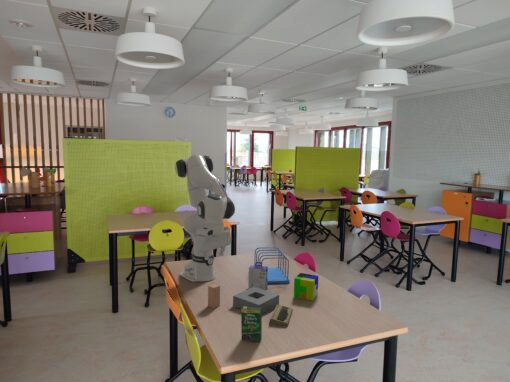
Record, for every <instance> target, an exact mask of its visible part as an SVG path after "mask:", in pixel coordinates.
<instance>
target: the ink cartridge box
mask: <svg viewBox="0 0 510 382" xmlns="http://www.w3.org/2000/svg"><path fill="white" fill-rule="evenodd" d="M258 263H260V265H258ZM268 268H269V266H267V265H266V266H265V265H263V262H262V261H260V262H258V261H257V262H256V261H255V266H254V265H250V266H249V268H248V289H250V288H252V287H256V288H259V289H263V290H266V291H267V289H268V284H267V279H268ZM248 289H247V290H248Z"/></svg>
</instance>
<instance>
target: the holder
mask: <svg viewBox="0 0 510 382" xmlns="http://www.w3.org/2000/svg"><path fill="white" fill-rule="evenodd" d="M276 305H280V294H278V293H275V292H272V291H268V290H267V289H266V290H263V289H259V288H256V287H252V288H250V289H245V290H244V291H241V292H239V293H236V294H234V295H233V296H232V307H235V308H238V309H240V310H241V309H242V307H243V306H245V307H254V308H262V315H263V314H264V313H266V312H268V311H270V310H272V309H275V308H276Z"/></svg>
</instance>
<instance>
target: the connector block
mask: <svg viewBox="0 0 510 382" xmlns="http://www.w3.org/2000/svg"><path fill="white" fill-rule="evenodd" d="M207 306H208V307H210V308H212V309H216V308H218V307H220V306H221V286H220V285H219V284H215V283H213V284H210V285H208V286H207Z"/></svg>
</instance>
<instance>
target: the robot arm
mask: <svg viewBox="0 0 510 382" xmlns="http://www.w3.org/2000/svg"><path fill="white" fill-rule="evenodd" d="M214 165H215V164H214V160H213V159H212V156H210V155H200V154H192V155H190V156H189V157H187V158H181V159H178V160H177V161H176V162H175V165H174V170H175V173H176V175H177V177H179V178H185V179H186V182H187V183H186V184H187V193H188V198H189V202H190V205H191V206H192V207H194V208H196V209H197V212H195V213H191V214H189V215H186V216H185V217H184V218H183V220H182V227H183V229H184V230H185V232H187V233H188V234H189V235H190V236H191V238H192V241H193V253H194V254H193V253H192V254H191V255H190V257H191V259H190V261H188V262H187V263H186V264H185V265H184V268H183V271H181V272H180V273H179V275H180V276H181V277H183V279H186V280H188V281H190V282H191V283H192V282H193V283H194V282H209V281H212V280H215V279H216V271H215V264H214V263H215V262H214V261H215V256H214V255H215V254H214V250H217V249H220V251H218V256H219V257H222V256H224V252H225V249H226V247H227V246H230V245H231V243H232V237H231V235H232V234H231V232H230V230H231V229H230V228H229V226H225V222H224V220H230V218H232V217H233V216H234V214H235V212H236V207H235V204H234V201H233V200H232V199H231V198H230V197H229V194H228V193H227V192H226V190H225V188H224V186H223V185H222V183H221V181H220V180H219V178H218V177H216V176H215V175H213V174H212V172H213V170H214V167H215V166H214ZM208 190H209V191H210V192H213V193H214V194H213V193H212V194H209V192H208Z"/></svg>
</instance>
